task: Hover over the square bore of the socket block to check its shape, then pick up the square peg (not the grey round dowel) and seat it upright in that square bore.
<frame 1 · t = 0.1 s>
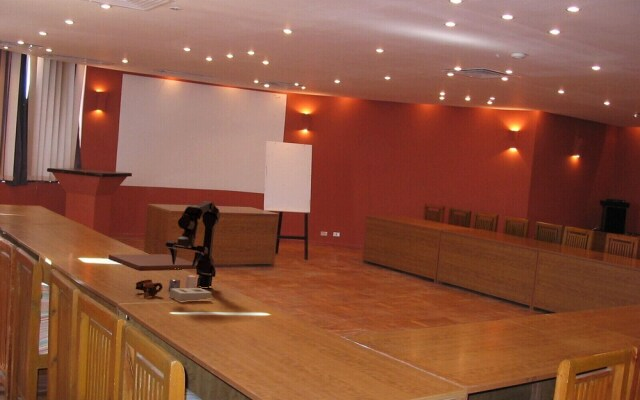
hand: (183, 266, 318), 15 cm above the table, tool pointing down, fingers open, 9 cm apart
square peg: (189, 292, 336), on the table
round dowel: (173, 292, 332), on the table
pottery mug: (148, 295, 319), on the table
socket block: (189, 299, 322), on the table
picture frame: (154, 265, 402), on the table
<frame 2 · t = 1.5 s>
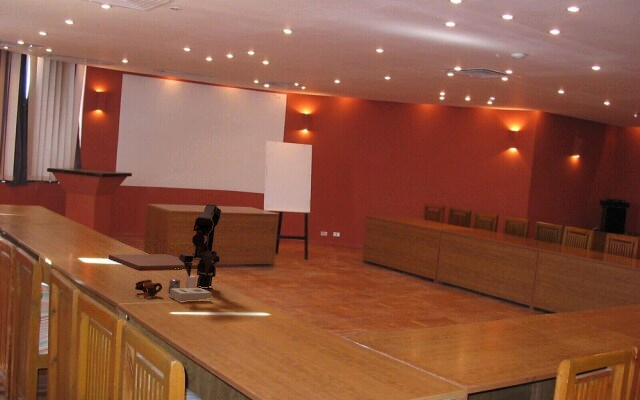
hand: (197, 276, 327), 10 cm above the table, tool pointing down, fingers open, 9 cm apart
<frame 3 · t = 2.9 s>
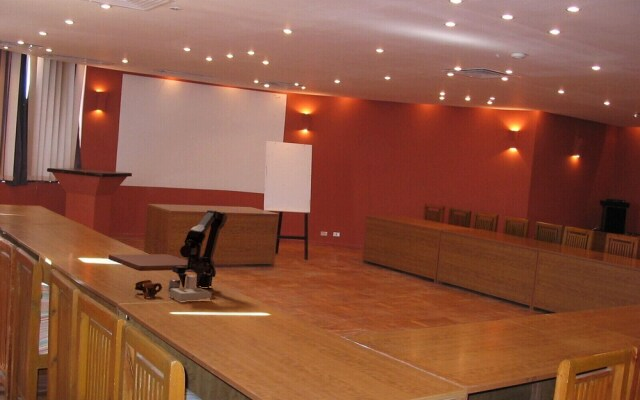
hand: (190, 287, 336), 2 cm above the table, tool pointing down, fingers open, 7 cm apart
round dowel: (173, 292, 332), on the table, touching gripper
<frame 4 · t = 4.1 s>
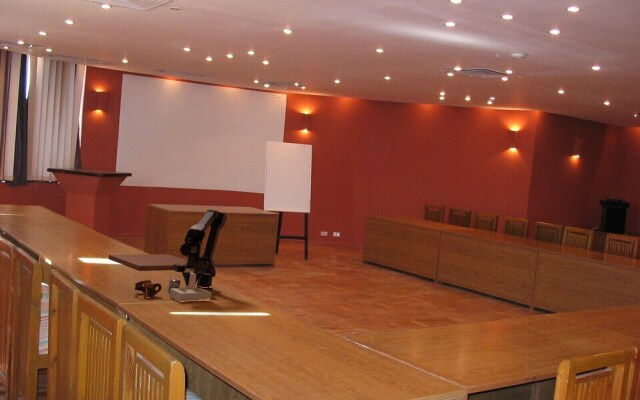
hand: (190, 285, 336), 3 cm above the table, tool pointing down, fingers closed on square peg, 3 cm apart
square peg: (189, 290, 336), point 1 cm above the table, touching gripper
round dowel: (173, 292, 332), on the table
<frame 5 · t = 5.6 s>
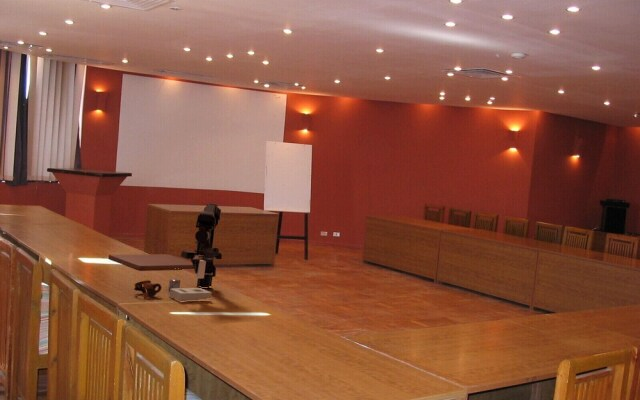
hand: (199, 273, 323), 12 cm above the table, tool pointing down, fingers closed on square peg, 3 cm apart
square peg: (199, 277, 323), point 10 cm above the table, touching gripper
when the fingers open (5 cm above the table, at t = 7.4 s): square peg drops 3 cm, resting in socket block.
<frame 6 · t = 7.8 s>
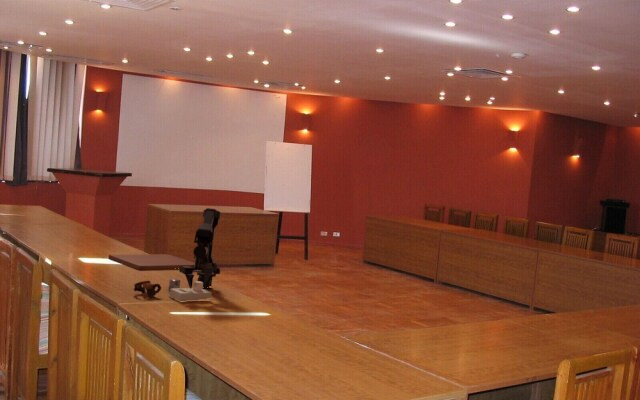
hand: (197, 288, 324), 5 cm above the table, tool pointing down, fingers open, 7 cm apart
square peg: (196, 299, 324), resting in socket block
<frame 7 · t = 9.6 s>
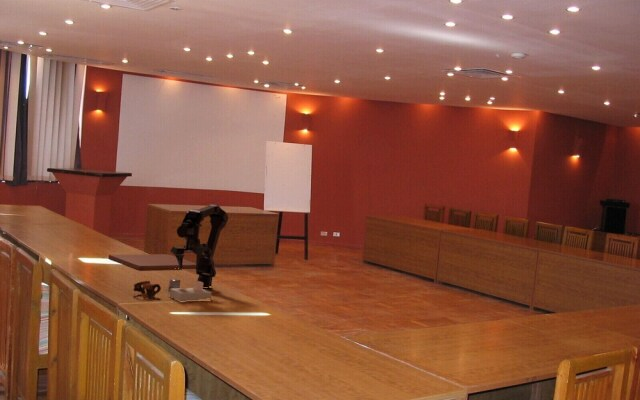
hand: (189, 268, 336), 12 cm above the table, tool pointing down, fingers open, 9 cm apart
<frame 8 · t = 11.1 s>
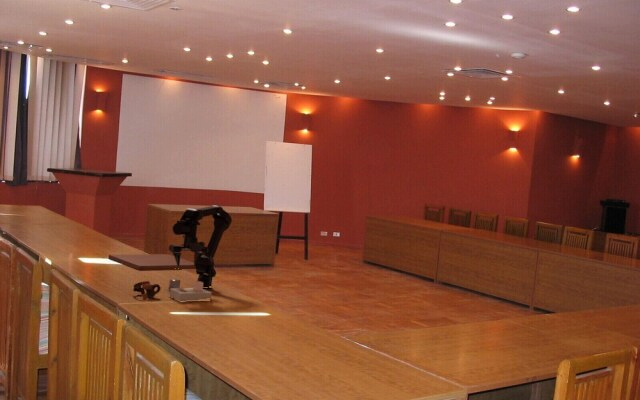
hand: (186, 266, 338), 12 cm above the table, tool pointing down, fingers open, 9 cm apart
at the end: square peg 0.1 cm from the target spot on the socket block, point 0.0 cm above the socket block's base; square peg tilted 0°; the gripper is holding nothing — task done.
